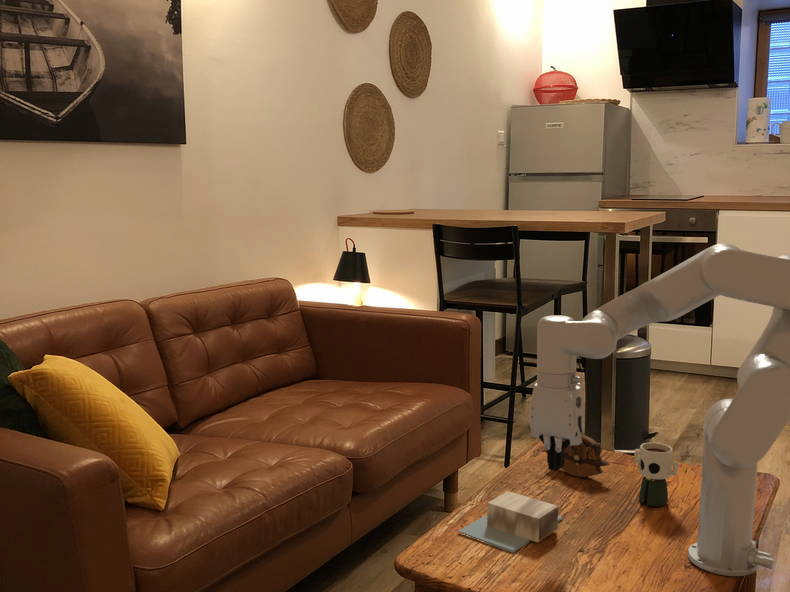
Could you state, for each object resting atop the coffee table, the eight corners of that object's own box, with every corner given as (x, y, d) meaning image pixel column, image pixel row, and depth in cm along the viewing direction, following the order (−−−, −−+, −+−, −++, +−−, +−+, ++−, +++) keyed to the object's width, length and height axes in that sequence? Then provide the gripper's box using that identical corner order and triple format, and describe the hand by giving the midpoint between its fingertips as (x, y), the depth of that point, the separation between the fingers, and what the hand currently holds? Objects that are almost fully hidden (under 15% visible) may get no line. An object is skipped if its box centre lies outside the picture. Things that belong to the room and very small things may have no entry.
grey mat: (562, 519, 175) (562, 516, 175) (513, 553, 159) (513, 550, 159) (509, 503, 183) (509, 500, 183) (458, 533, 168) (458, 531, 167)
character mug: (623, 499, 186) (626, 444, 183) (641, 491, 190) (644, 437, 188) (665, 515, 177) (668, 457, 175) (683, 506, 182) (687, 450, 179)
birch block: (559, 506, 168) (508, 491, 175) (539, 519, 162) (487, 502, 169) (558, 529, 169) (507, 513, 176) (538, 542, 162) (487, 525, 170)
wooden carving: (541, 470, 203) (542, 431, 201) (549, 465, 206) (551, 427, 205) (604, 486, 193) (606, 445, 191) (612, 480, 197) (614, 440, 195)
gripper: (600, 380, 158) (599, 471, 161) (532, 370, 168) (532, 455, 170) (582, 389, 153) (581, 482, 155) (513, 377, 162) (513, 466, 165)
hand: (555, 468), depth 163 cm, fingers closed
